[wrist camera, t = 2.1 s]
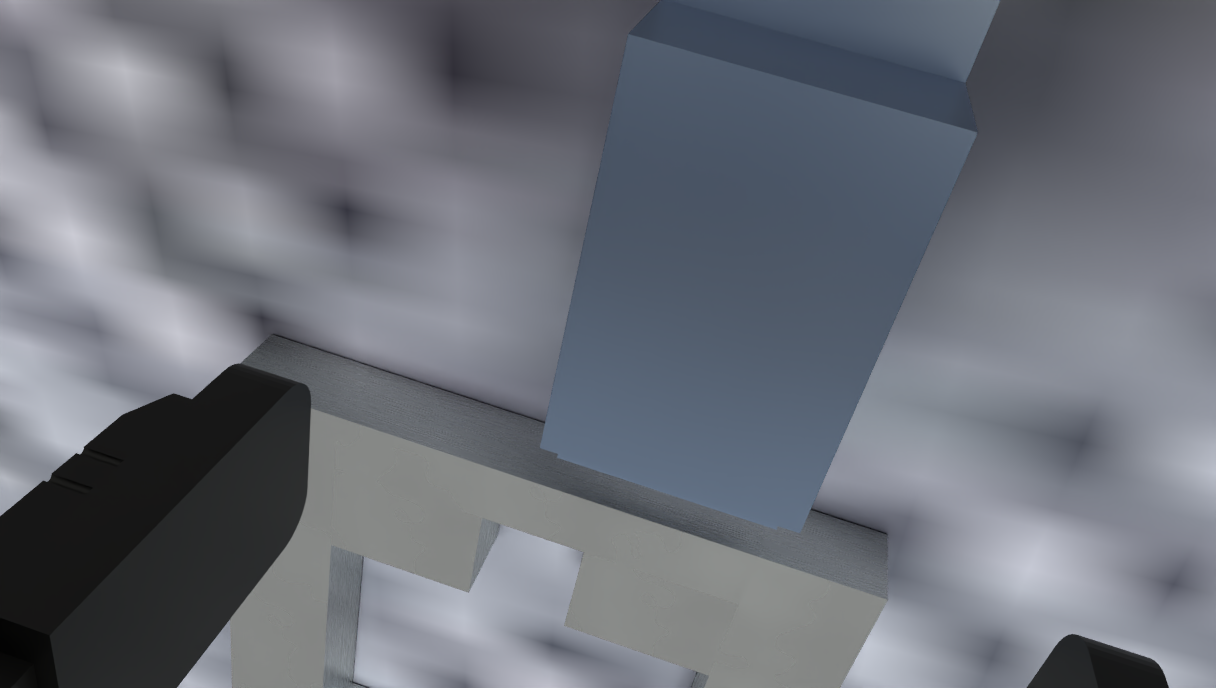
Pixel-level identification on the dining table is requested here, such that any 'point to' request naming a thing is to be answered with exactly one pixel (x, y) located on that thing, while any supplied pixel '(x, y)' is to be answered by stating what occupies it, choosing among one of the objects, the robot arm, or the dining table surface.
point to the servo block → (757, 238)
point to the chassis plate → (550, 509)
